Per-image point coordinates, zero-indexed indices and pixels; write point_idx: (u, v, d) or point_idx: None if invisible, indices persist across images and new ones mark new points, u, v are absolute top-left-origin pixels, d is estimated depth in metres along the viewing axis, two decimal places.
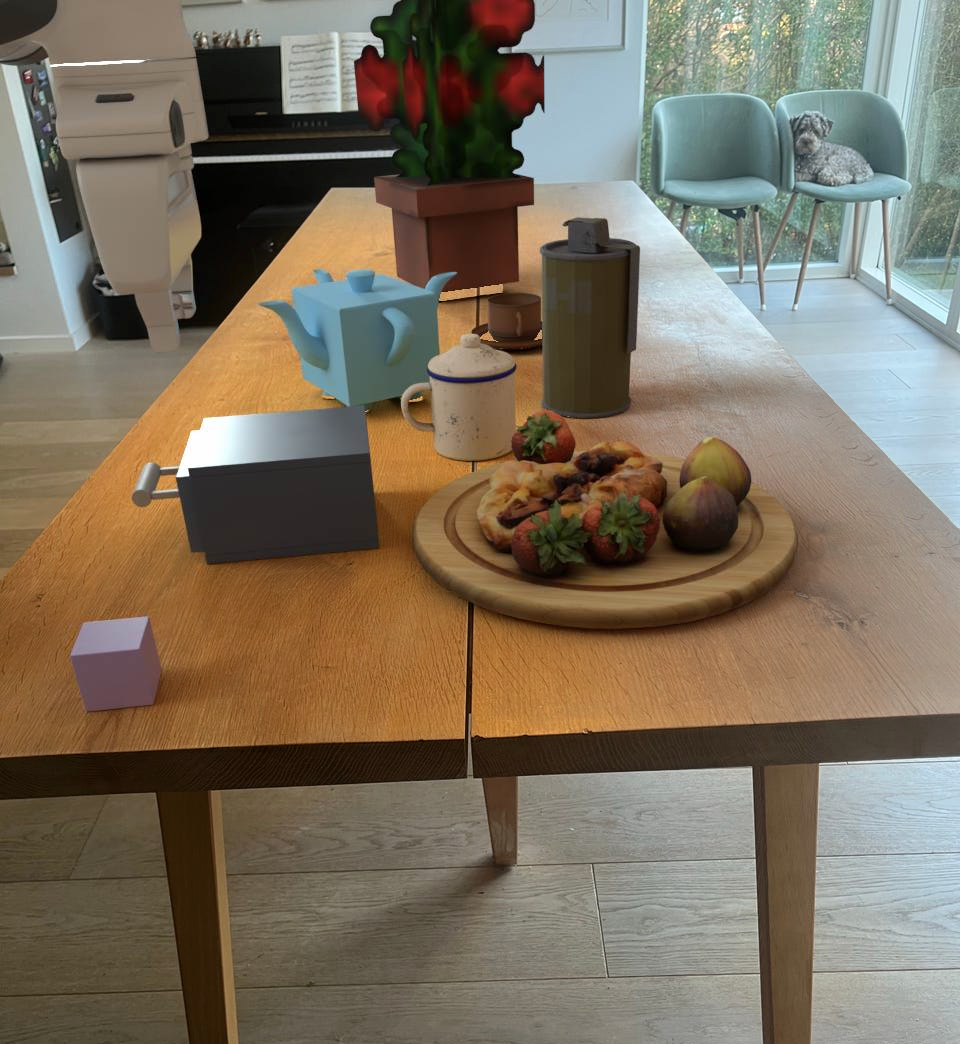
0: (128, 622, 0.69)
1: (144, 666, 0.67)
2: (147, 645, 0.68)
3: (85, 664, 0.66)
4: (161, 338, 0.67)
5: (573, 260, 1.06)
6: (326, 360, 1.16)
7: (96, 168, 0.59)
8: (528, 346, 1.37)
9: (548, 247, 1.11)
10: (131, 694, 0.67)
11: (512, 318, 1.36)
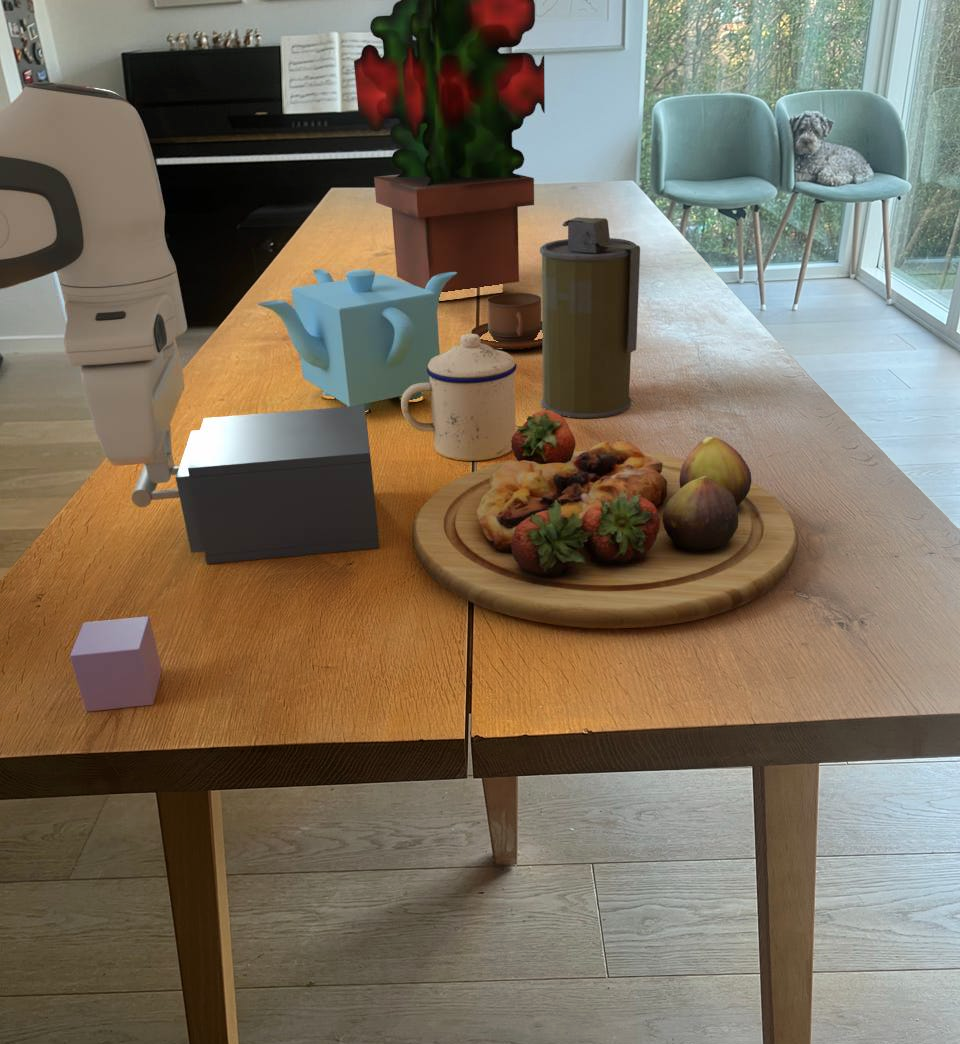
0: (128, 622, 0.69)
1: (144, 666, 0.67)
2: (147, 645, 0.68)
3: (85, 664, 0.66)
4: (156, 472, 0.86)
5: (573, 260, 1.06)
6: (326, 360, 1.16)
7: (96, 373, 0.75)
8: (528, 346, 1.37)
9: (548, 247, 1.11)
10: (131, 694, 0.67)
11: (512, 318, 1.36)
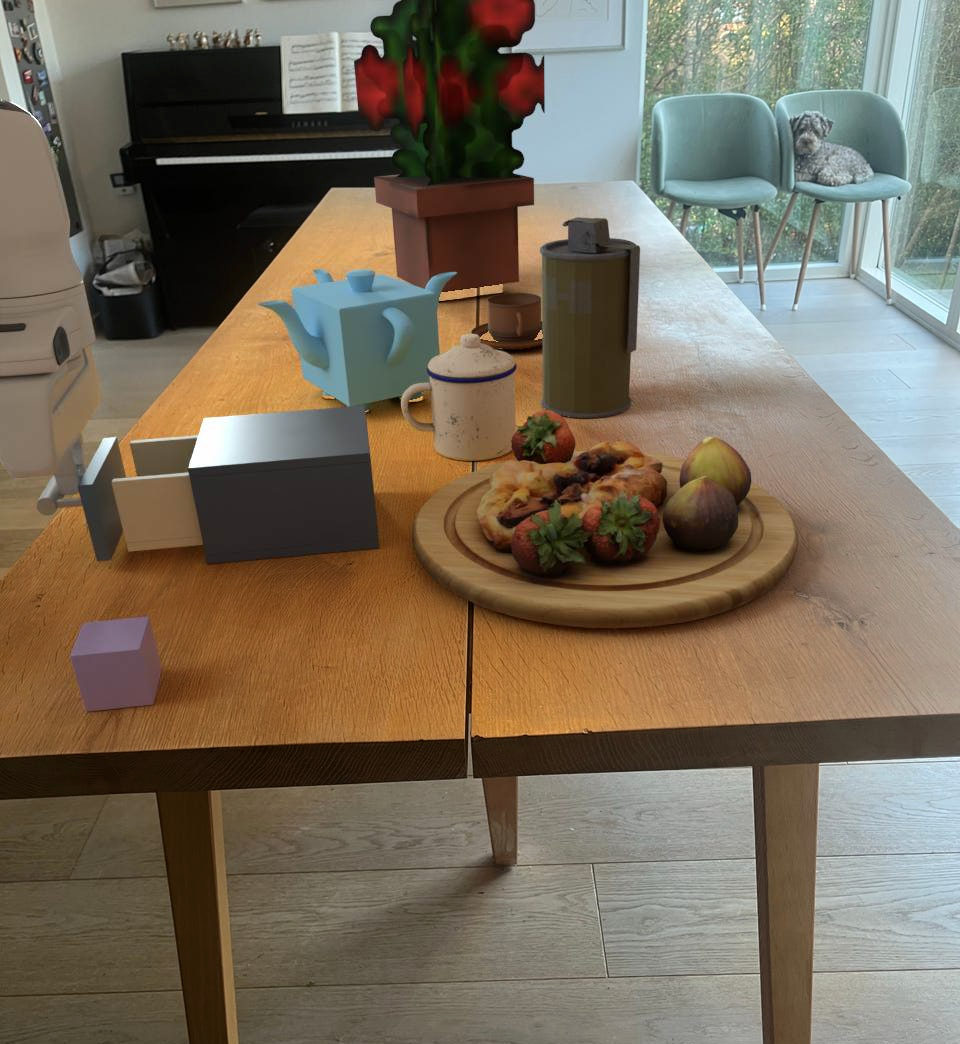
0: (128, 622, 0.69)
1: (144, 666, 0.67)
2: (147, 645, 0.68)
3: (85, 664, 0.66)
4: (66, 484, 0.86)
5: (573, 260, 1.06)
6: (326, 360, 1.16)
7: None
8: (528, 346, 1.37)
9: (548, 247, 1.11)
10: (131, 694, 0.67)
11: (512, 318, 1.36)
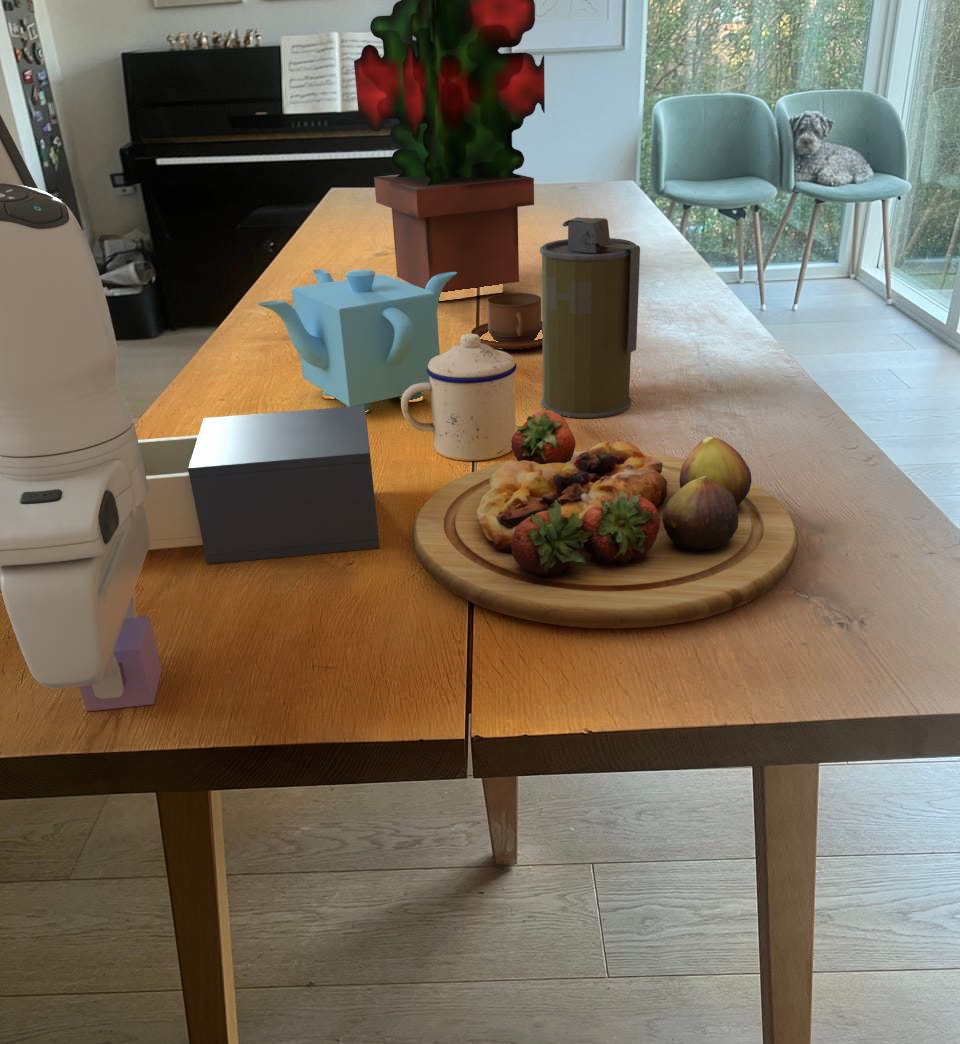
0: (128, 622, 0.69)
1: (145, 666, 0.67)
2: (147, 645, 0.68)
3: None
4: (104, 686, 0.65)
5: (573, 260, 1.06)
6: (326, 360, 1.16)
7: (20, 576, 0.55)
8: (528, 346, 1.37)
9: (548, 247, 1.11)
10: (131, 694, 0.67)
11: (512, 318, 1.36)
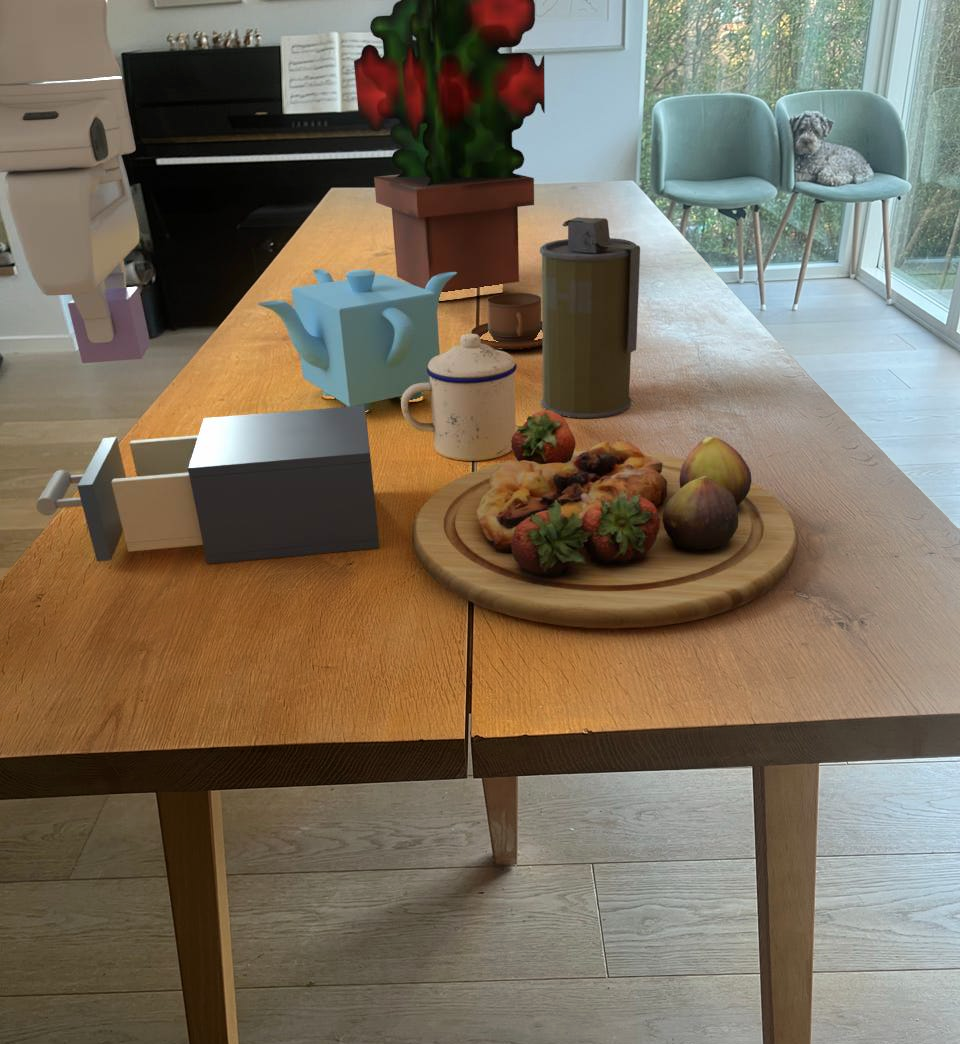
0: (119, 289, 0.78)
1: (133, 319, 0.76)
2: (136, 306, 0.77)
3: None
4: (97, 330, 0.74)
5: (573, 260, 1.06)
6: (326, 360, 1.16)
7: (22, 180, 0.64)
8: (528, 346, 1.37)
9: (548, 247, 1.11)
10: (122, 346, 0.76)
11: (512, 318, 1.36)
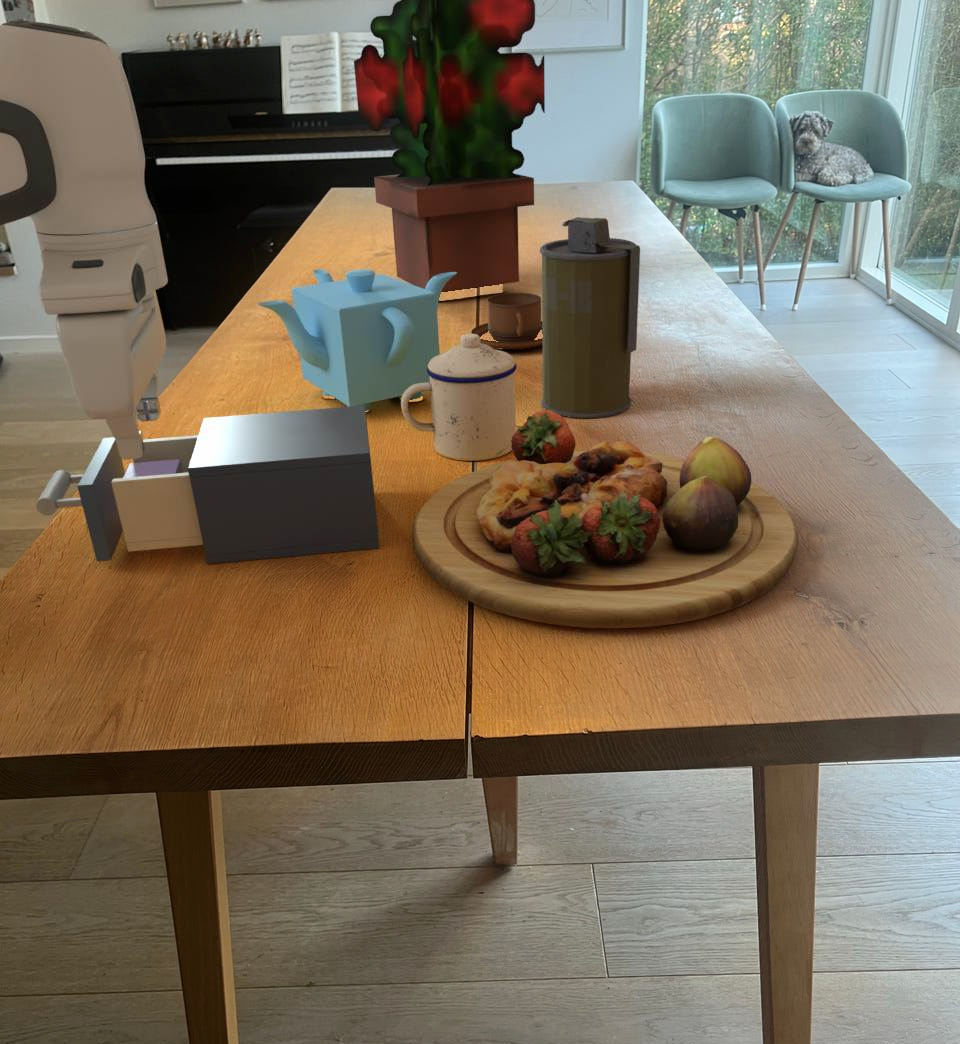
0: (164, 462, 0.89)
1: None
2: None
3: None
4: (127, 448, 0.81)
5: (573, 260, 1.06)
6: (326, 360, 1.16)
7: (72, 322, 0.73)
8: (528, 346, 1.37)
9: (548, 247, 1.11)
10: None
11: (512, 318, 1.36)
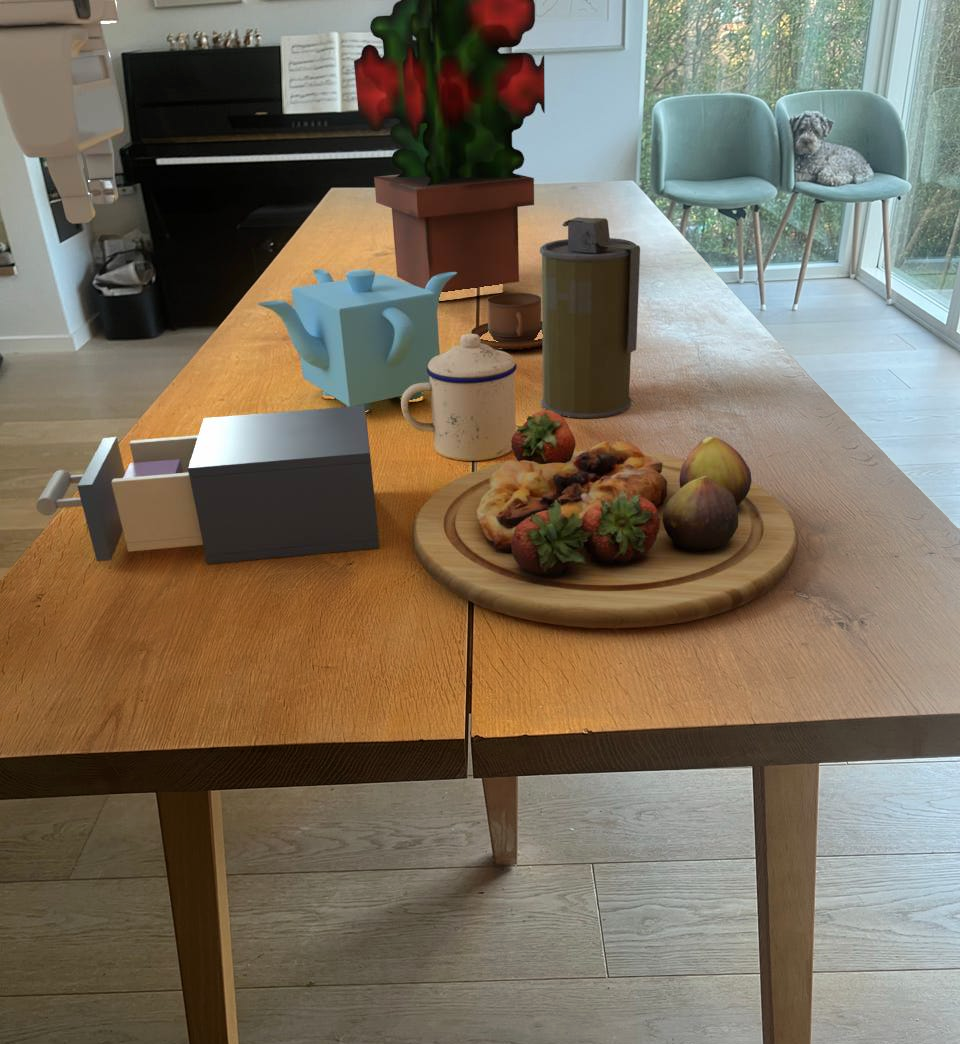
0: (164, 462, 0.89)
1: None
2: None
3: None
4: (75, 209, 0.72)
5: (573, 260, 1.06)
6: (326, 360, 1.16)
7: (3, 34, 0.64)
8: (528, 346, 1.37)
9: (548, 247, 1.11)
10: None
11: (512, 318, 1.36)
